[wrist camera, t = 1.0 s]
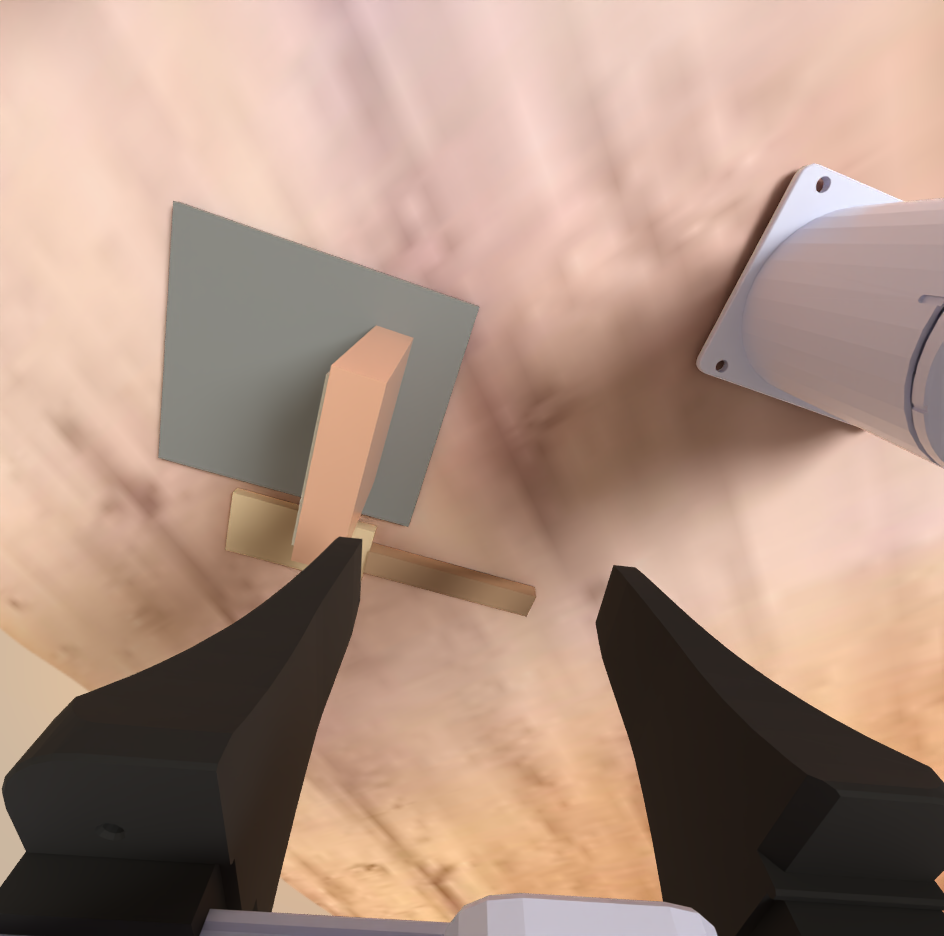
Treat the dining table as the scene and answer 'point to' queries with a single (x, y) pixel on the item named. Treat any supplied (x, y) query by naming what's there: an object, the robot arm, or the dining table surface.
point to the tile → (349, 439)
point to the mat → (292, 356)
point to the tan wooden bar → (365, 555)
